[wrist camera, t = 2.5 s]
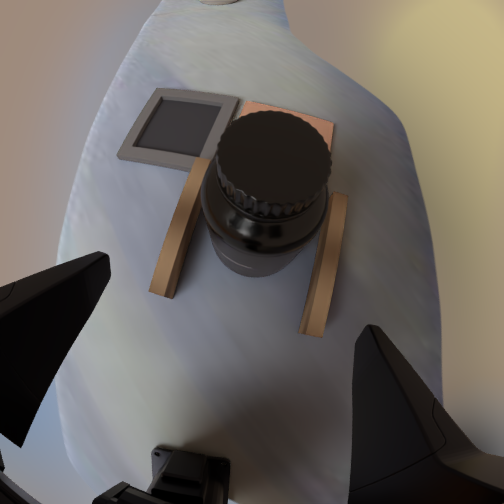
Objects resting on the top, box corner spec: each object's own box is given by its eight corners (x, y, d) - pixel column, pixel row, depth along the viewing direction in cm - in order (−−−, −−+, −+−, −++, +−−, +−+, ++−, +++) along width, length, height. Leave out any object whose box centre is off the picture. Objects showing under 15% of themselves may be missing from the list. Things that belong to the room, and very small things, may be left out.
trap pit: (208, 176, 23) (207, 171, 22) (119, 159, 23) (116, 155, 23) (238, 102, 25) (238, 97, 25) (158, 92, 26) (156, 88, 25)
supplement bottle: (211, 279, 21) (178, 230, 9) (214, 198, 23) (195, 93, 11) (300, 279, 21) (366, 231, 10) (295, 198, 23) (338, 99, 11)
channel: (312, 336, 20) (322, 337, 18) (158, 294, 21) (148, 291, 18) (338, 208, 23) (348, 195, 21) (200, 172, 23) (196, 156, 21)
